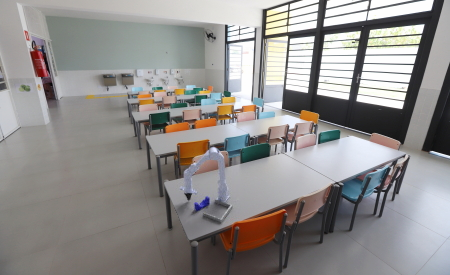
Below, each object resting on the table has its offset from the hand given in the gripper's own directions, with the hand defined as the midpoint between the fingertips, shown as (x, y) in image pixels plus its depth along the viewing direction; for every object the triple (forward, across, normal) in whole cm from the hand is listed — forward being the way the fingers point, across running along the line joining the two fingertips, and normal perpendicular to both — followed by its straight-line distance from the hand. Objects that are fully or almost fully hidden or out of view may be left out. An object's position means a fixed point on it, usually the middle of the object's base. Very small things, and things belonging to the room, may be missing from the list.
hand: (189, 199), depth 172 cm
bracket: (+1, +26, 0) cm, 26 cm away
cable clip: (+2, +12, 0) cm, 12 cm away
